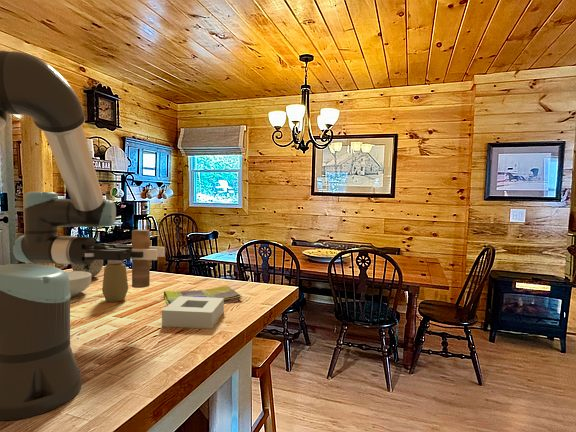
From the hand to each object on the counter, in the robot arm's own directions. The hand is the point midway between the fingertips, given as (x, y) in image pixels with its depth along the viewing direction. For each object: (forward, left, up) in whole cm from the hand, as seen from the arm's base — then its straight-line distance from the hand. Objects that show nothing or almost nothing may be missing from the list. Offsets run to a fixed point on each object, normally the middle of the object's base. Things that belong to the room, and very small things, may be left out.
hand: (160, 253), depth 99 cm
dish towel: (+30, -3, -21) cm, 37 cm away
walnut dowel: (0, +5, -9) cm, 10 cm away
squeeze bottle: (+24, +25, -21) cm, 41 cm away
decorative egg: (+52, +52, -21) cm, 77 cm away
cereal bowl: (+27, +45, -21) cm, 57 cm away
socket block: (+9, -7, -21) cm, 23 cm away
